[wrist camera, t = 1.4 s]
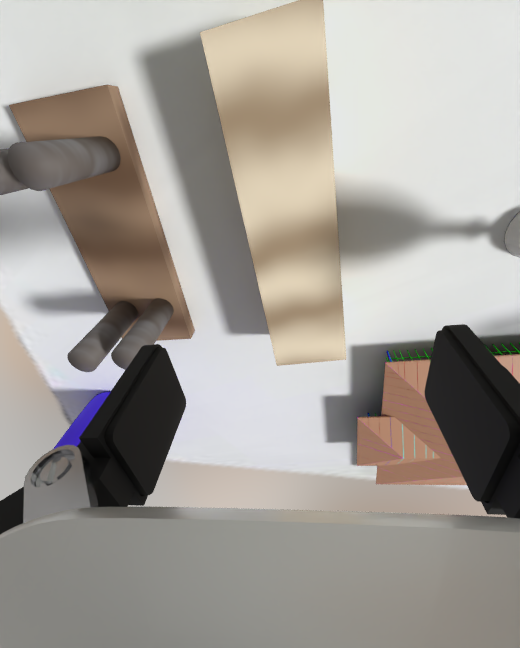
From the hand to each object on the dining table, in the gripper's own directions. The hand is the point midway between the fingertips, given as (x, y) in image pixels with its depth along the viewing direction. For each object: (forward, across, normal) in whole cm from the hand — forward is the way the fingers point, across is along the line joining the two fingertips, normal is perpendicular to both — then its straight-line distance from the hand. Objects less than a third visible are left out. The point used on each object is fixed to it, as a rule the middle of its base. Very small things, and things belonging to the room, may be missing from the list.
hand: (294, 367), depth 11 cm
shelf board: (+19, 0, 0) cm, 19 cm away
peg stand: (+19, +16, 0) cm, 25 cm away
